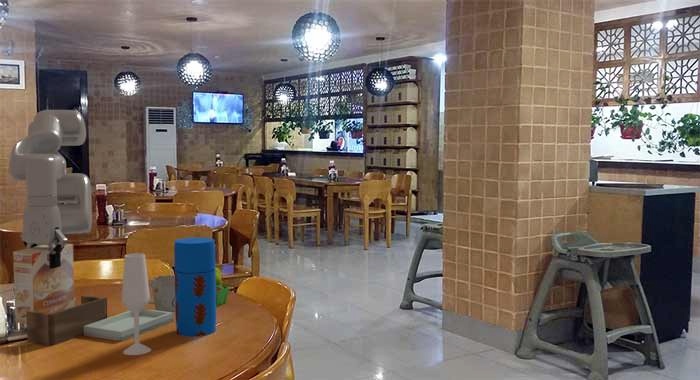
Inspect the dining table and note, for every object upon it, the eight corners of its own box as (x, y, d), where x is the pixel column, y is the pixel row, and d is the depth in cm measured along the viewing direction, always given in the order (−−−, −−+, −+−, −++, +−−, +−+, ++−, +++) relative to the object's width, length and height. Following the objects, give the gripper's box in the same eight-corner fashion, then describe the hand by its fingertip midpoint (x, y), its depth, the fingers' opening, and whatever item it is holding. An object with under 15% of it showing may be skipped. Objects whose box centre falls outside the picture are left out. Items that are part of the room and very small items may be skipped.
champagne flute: (124, 356, 162) (121, 258, 160) (121, 348, 168) (119, 253, 166) (152, 353, 165) (150, 256, 163) (149, 345, 171) (147, 252, 169)
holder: (27, 341, 174) (26, 311, 173) (84, 322, 191) (83, 295, 191) (51, 345, 170) (50, 314, 170) (107, 326, 188) (106, 298, 187)
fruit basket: (187, 304, 213) (187, 269, 212) (203, 298, 221) (203, 264, 220) (218, 307, 209) (217, 271, 208) (233, 301, 217) (233, 266, 216)
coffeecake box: (35, 326, 177) (32, 253, 175) (14, 323, 179) (11, 251, 177) (76, 311, 191) (74, 243, 189) (56, 308, 193) (54, 241, 191)
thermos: (180, 338, 176) (179, 244, 174) (171, 328, 186) (170, 239, 184) (221, 333, 181) (220, 241, 179) (210, 323, 191) (209, 236, 189)
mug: (172, 314, 201) (171, 281, 200) (133, 312, 203) (133, 279, 202) (184, 307, 209) (184, 275, 208) (147, 305, 211) (146, 274, 210)
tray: (83, 335, 179) (83, 326, 179) (137, 316, 199) (137, 307, 198) (121, 341, 174) (121, 331, 174) (173, 321, 193) (173, 312, 193)
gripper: (7, 201, 182) (10, 265, 183) (54, 205, 175) (57, 272, 177) (30, 198, 188) (32, 260, 190) (77, 202, 181) (79, 266, 183)
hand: (44, 265), depth 183 cm, fingers closed on coffeecake box, 7 cm apart
